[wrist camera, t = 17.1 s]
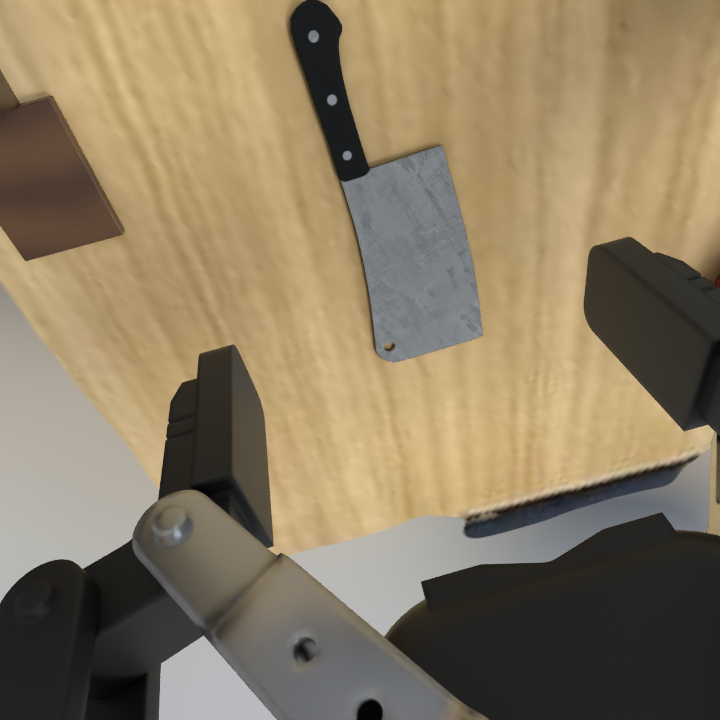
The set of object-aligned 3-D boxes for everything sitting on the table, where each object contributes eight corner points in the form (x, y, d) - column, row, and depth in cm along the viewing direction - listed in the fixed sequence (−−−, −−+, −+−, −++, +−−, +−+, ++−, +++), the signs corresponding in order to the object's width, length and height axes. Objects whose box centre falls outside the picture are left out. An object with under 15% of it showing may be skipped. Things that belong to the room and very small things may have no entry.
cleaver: (436, -44, 31) (273, 10, 31) (439, -44, 30) (274, 11, 30) (481, 333, 50) (380, 366, 50) (484, 337, 49) (382, 370, 49)
